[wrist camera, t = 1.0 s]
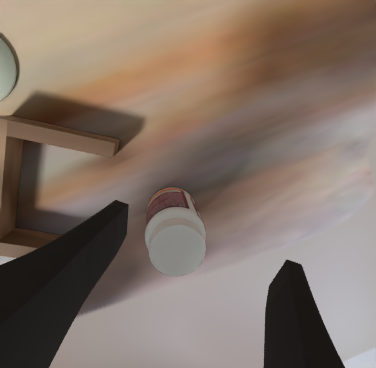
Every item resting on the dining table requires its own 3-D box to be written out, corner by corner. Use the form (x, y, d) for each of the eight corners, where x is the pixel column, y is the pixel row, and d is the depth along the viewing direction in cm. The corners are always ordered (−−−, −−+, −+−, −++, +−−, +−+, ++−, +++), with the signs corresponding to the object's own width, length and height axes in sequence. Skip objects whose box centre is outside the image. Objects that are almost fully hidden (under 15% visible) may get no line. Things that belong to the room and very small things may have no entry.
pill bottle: (137, 217, 27) (129, 262, 19) (164, 177, 27) (167, 206, 18) (178, 240, 28) (186, 292, 20) (205, 202, 28) (224, 241, 20)
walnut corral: (100, 252, 28) (93, 269, 25) (0, 237, 26) (-19, 252, 23) (120, 139, 25) (115, 143, 22) (10, 115, 24) (-10, 116, 21)
